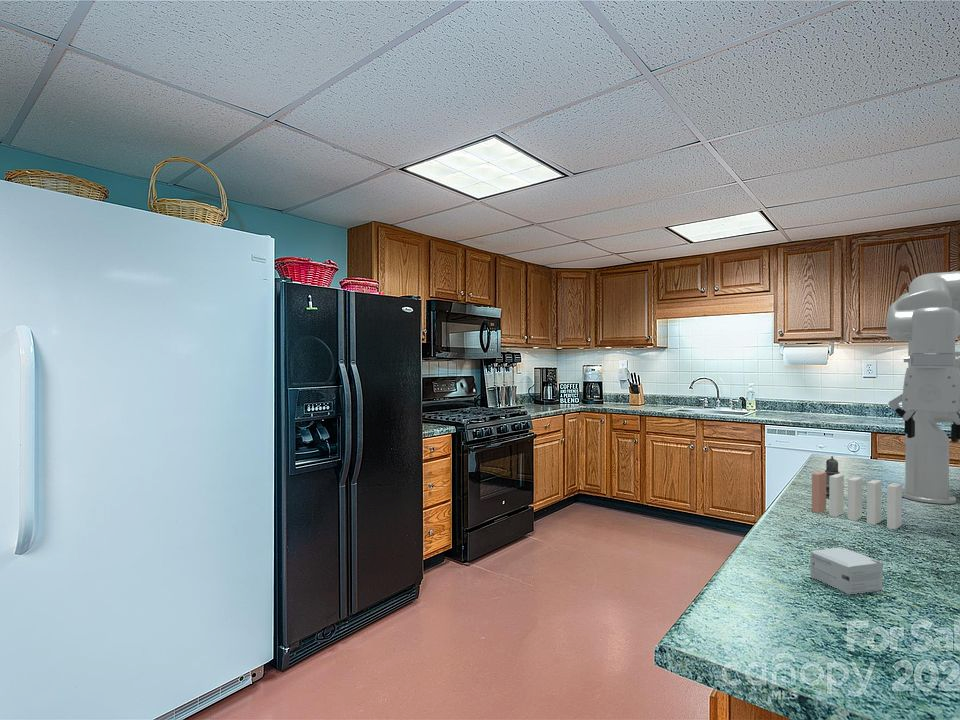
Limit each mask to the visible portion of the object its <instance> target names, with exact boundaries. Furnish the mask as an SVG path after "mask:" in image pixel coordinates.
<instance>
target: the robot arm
mask: <svg viewBox="0 0 960 720" xmlns="http://www.w3.org/2000/svg"><path fill="white" fill-rule="evenodd" d="M885 324H886V326H885V329H886V333H887V335H888V337H889V338H890V339H891V340H894V341H898V342H908V344H907V345H908V346H907V347H908V348H907V349H908V350H907V351H908V352H907V353H908V354H907V356H904V357H903V363H907V365H908V367H906V369H905V372H904V373H905V374H904V380H903V387H902V394H900V395H898V396H896V397H895V398H893V399H892V400H889V401H888V403H887V404H888V405H889V407H890V408H892V410H894V411H895V413H896V414H897V415H898V416H900V417H901V418H902V420H903V421H904V434H905V444H904V445H905V447H904V448H905V451H904V452H905V453H904V454H905V459H904V463H905V466H904V467H905V469H904V473H905V475H904V476H905V477H904V480H905V481H904V482H905V483H904V487H905V488H902V498H905V499H907V500H911V501H917V502H921V503H929V504H938V505H940V504H941V505H949V504H950V505H951V504H956V503H957V497H955V496H954V495H951V494H950V441H951V442H952V443H958V442H959V441H960V351H956V339H957V338H958V337H960V270H956V271H946V272H945V271H944V272H931V273H923V274H921V275H919V276H917V277H915V278H913V279H912V281H911V282H910V283H909V287H908V292H906V293H903V294H901V295H900V296H899V297H898V298H897V300H895V301H894V302H893V303H892V304H890V306H889V308H888V310H887V314H886V321H885ZM900 403H901V406H900V405H899V404H900ZM939 423H941V424H942V423H946V424H947V423H951V427H950V433H951V434H950V437H951V438H949V436H948V435H947V433H946V432H945V431H944V430H943V429H942V428H941V427H940V426H939V425H937V424H939Z"/></svg>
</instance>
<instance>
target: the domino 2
mask: <svg viewBox="0 0 960 720" xmlns="http://www.w3.org/2000/svg"><path fill="white" fill-rule="evenodd" d="M861 517H862V518H863V477H860V476H859V477H858V476H853V477H849V478H848V479H847V520H848V519H849V520H848V521H852V522H853V521H855V522H856V521H858V520H860V519H862V518H861ZM859 518H860V519H859Z"/></svg>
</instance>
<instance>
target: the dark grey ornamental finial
mask: <svg viewBox="0 0 960 720" xmlns="http://www.w3.org/2000/svg"><path fill="white" fill-rule="evenodd" d="M838 461H839V460H837V459H835V458H834V456H833V455H832V456H830V458H828V459H827V460H826V462H825V468H826V469H825V470H824V472H826V499H827V498H829V476H832V475H835V474H840V473H841V472H840V471H839V462H838Z"/></svg>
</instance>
